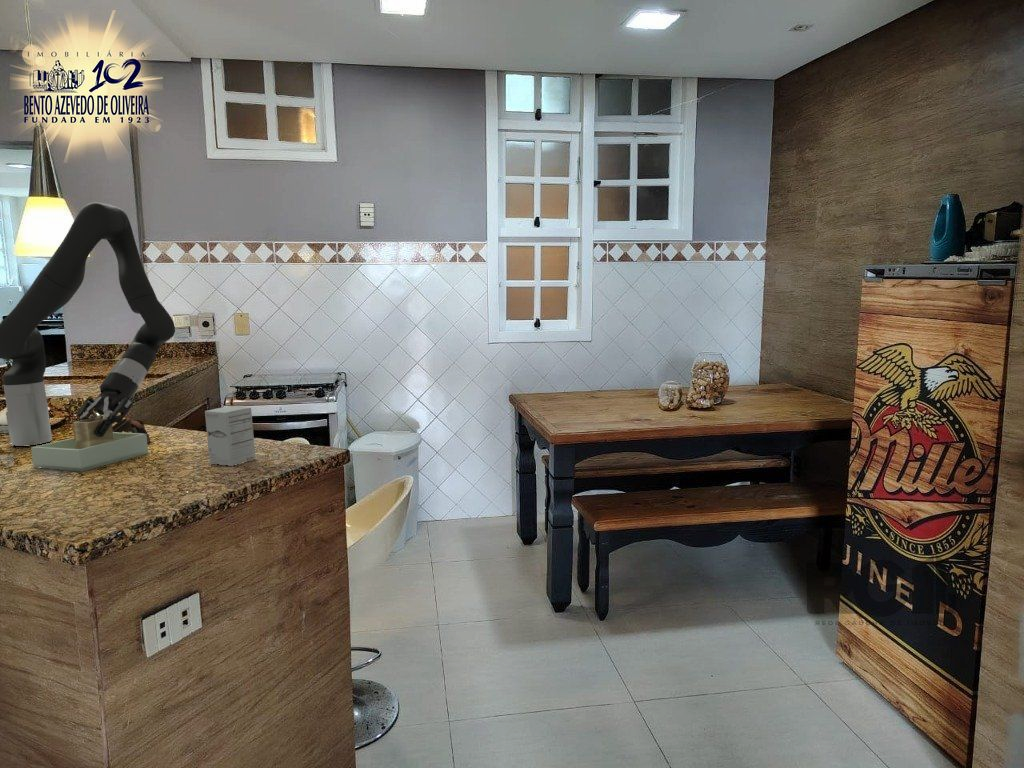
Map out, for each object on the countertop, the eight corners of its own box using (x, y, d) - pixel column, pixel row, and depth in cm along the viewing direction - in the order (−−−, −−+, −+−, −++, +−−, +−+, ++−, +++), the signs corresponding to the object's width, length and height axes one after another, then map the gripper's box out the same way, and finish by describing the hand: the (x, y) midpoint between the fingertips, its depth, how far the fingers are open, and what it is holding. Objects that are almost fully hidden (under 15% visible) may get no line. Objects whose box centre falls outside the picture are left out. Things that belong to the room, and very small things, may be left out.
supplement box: (208, 464, 157) (203, 410, 156) (235, 457, 164) (230, 405, 162) (231, 467, 154) (225, 412, 152) (257, 459, 160) (251, 406, 159)
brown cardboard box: (77, 458, 166) (72, 422, 165) (99, 452, 172) (95, 417, 171) (93, 459, 164) (88, 422, 163) (115, 453, 170) (111, 418, 169)
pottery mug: (147, 448, 182) (125, 424, 178) (116, 464, 182) (95, 441, 179) (161, 428, 193) (141, 405, 189) (133, 444, 193) (112, 421, 190)
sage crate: (33, 468, 162) (30, 447, 161) (103, 450, 178) (100, 431, 178) (81, 471, 156) (78, 450, 155) (148, 453, 173) (146, 433, 172)
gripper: (93, 370, 175) (54, 425, 165) (134, 371, 170) (96, 427, 160) (114, 388, 180) (77, 442, 171) (154, 389, 175) (119, 444, 166)
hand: (87, 434), depth 166 cm, fingers open, 6 cm apart
